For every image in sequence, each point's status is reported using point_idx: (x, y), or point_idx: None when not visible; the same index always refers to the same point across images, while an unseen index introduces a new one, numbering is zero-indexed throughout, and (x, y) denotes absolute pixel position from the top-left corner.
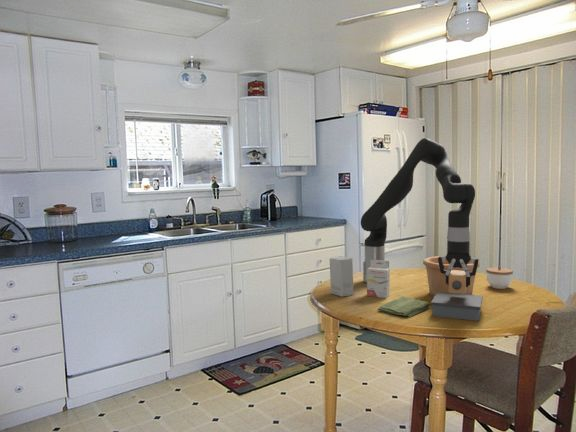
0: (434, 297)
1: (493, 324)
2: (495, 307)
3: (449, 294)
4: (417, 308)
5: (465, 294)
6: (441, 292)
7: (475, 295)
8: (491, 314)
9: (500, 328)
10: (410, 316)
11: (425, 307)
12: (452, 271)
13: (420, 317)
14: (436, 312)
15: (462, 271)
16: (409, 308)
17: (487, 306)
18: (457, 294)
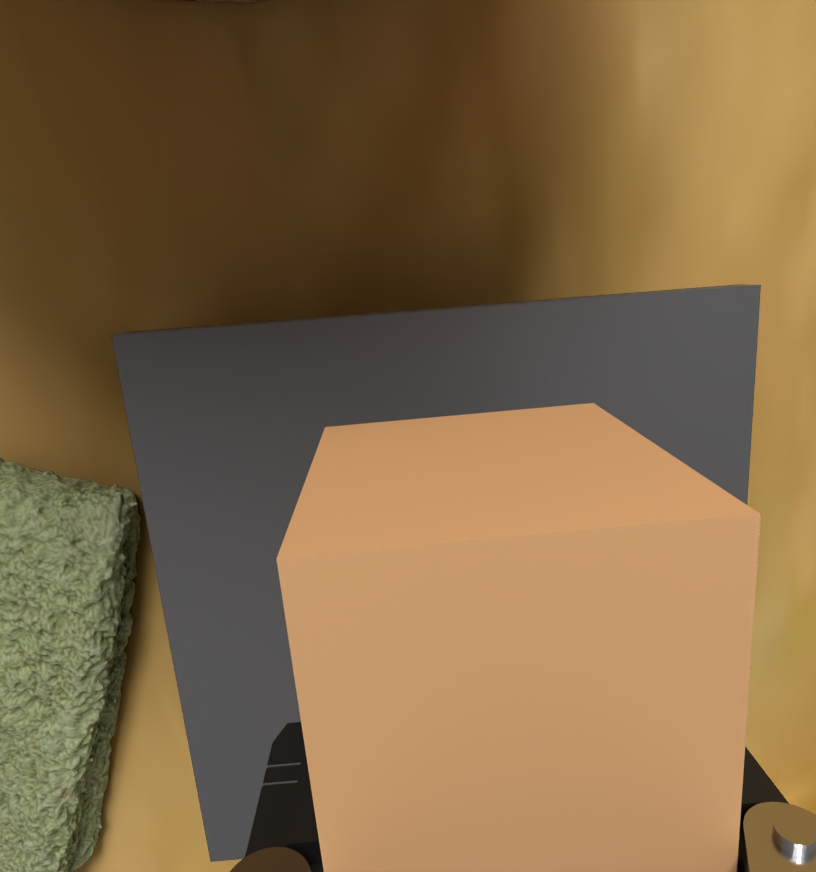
0: (180, 662)
1: (763, 727)
2: (812, 139)
3: (316, 426)
4: (87, 761)
5: (525, 324)
6: (182, 359)
7: (663, 318)
8: (758, 447)
9: (810, 794)
10: (94, 845)
11: (124, 599)
12: (347, 735)
13: (176, 812)
14: None
15: (621, 637)
16: (32, 851)
17: (725, 135)
18: (419, 376)
